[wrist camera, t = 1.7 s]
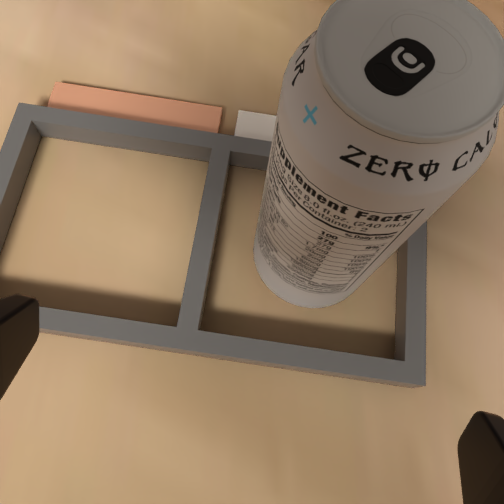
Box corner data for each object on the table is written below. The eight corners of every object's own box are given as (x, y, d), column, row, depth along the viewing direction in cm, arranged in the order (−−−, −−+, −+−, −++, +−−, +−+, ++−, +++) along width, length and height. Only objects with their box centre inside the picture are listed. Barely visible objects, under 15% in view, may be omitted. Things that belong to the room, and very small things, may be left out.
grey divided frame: (417, 142, 28) (427, 128, 27) (413, 387, 23) (425, 385, 22) (42, 84, 28) (32, 67, 27) (-45, 319, 23) (-62, 313, 22)
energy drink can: (384, 261, 25) (585, 64, 11) (308, 336, 24) (433, 214, 10) (306, 188, 27) (400, -72, 13) (229, 254, 25) (237, 40, 11)
